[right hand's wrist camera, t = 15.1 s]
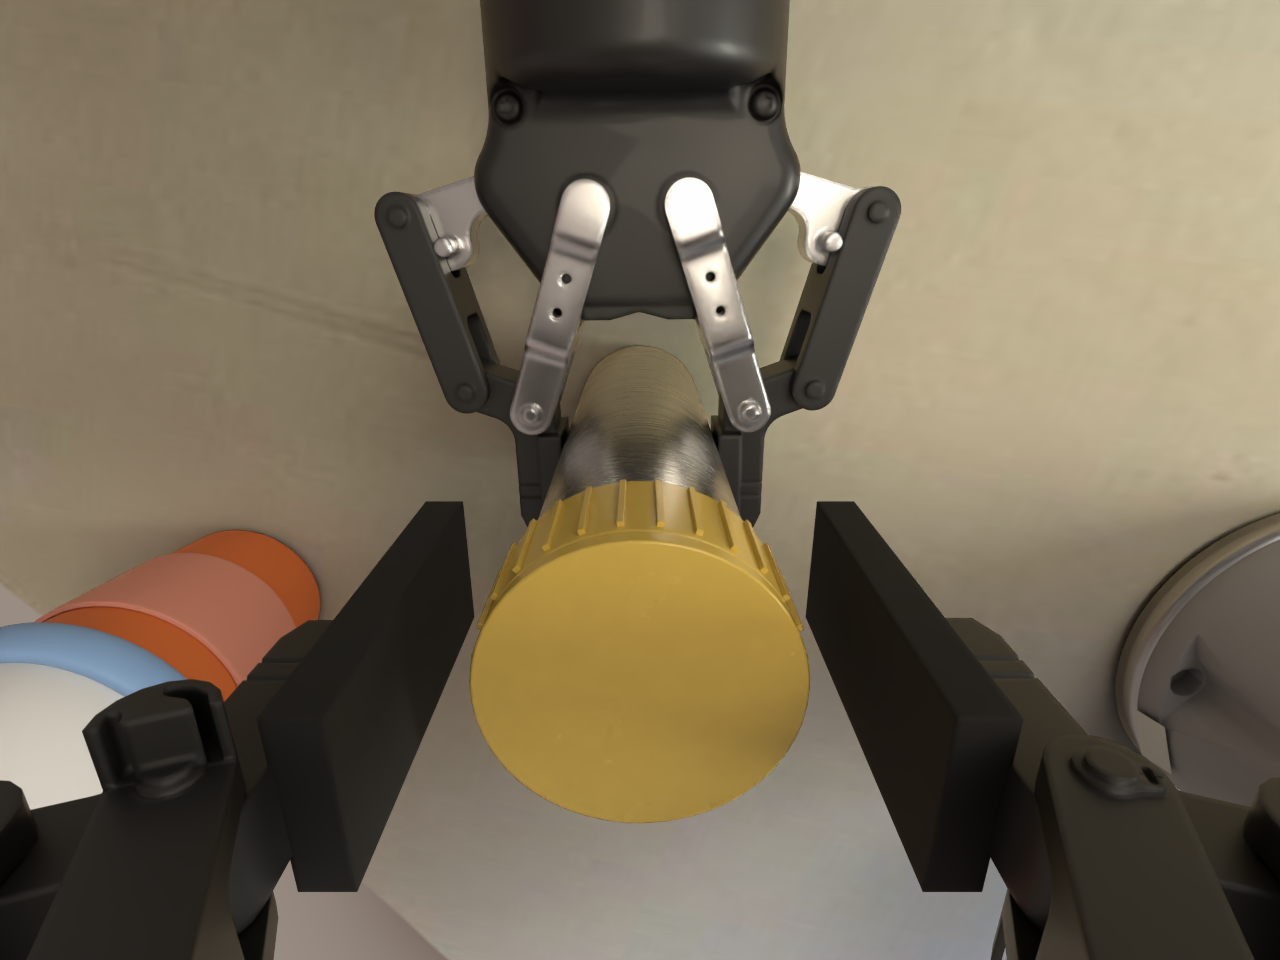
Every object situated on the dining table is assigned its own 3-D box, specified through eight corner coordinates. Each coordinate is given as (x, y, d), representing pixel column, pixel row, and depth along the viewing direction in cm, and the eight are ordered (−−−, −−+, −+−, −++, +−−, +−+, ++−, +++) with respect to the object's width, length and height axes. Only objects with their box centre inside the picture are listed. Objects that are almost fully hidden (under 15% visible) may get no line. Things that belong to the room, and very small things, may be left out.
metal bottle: (659, 322, 26) (691, 482, 10) (718, 421, 27) (833, 707, 11) (560, 384, 27) (436, 628, 10) (622, 477, 28) (597, 820, 12)
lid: (441, 549, 12) (396, 623, 10) (715, 426, 11) (733, 476, 9) (577, 761, 14) (565, 866, 11) (824, 667, 13) (863, 760, 11)
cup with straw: (115, 616, 30) (-549, 1109, 13) (189, 455, 28) (-521, 813, 11) (305, 709, 32) (-69, 1247, 15) (391, 566, 29) (55, 1024, 12)
